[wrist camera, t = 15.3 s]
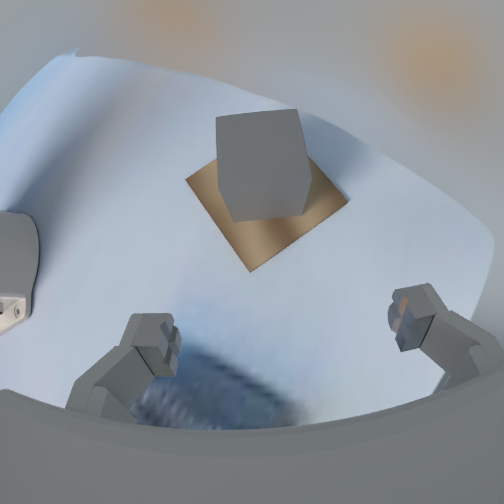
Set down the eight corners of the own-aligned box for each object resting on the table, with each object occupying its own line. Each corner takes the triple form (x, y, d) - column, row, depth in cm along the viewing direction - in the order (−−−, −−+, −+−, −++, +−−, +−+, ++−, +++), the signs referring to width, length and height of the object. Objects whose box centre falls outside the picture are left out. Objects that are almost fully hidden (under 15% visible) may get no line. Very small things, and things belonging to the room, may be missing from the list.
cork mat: (249, 272, 26) (249, 272, 26) (186, 181, 29) (185, 179, 28) (346, 203, 27) (347, 202, 27) (276, 125, 29) (276, 123, 29)
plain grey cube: (301, 215, 27) (311, 179, 19) (233, 222, 27) (218, 188, 19) (292, 157, 28) (297, 109, 20) (229, 163, 28) (215, 117, 21)
